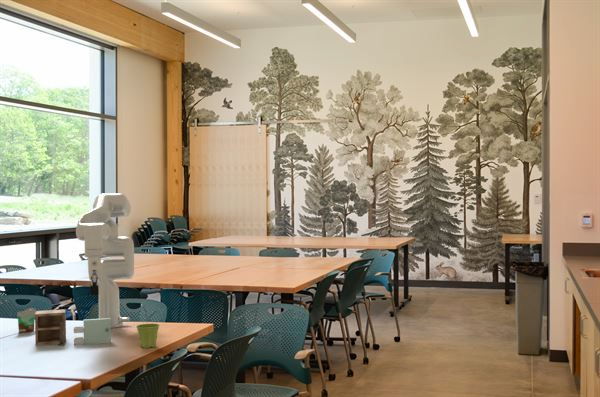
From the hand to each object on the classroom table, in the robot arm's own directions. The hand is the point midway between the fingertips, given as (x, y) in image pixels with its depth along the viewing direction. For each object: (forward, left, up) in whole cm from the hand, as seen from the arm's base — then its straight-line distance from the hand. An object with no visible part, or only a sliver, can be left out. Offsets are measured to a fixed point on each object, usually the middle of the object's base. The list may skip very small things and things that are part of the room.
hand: (94, 293), depth 326 cm
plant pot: (-21, +16, -21) cm, 33 cm away
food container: (+29, -40, -21) cm, 54 cm away
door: (+1, 0, -21) cm, 21 cm away
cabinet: (+18, -6, -21) cm, 28 cm away
